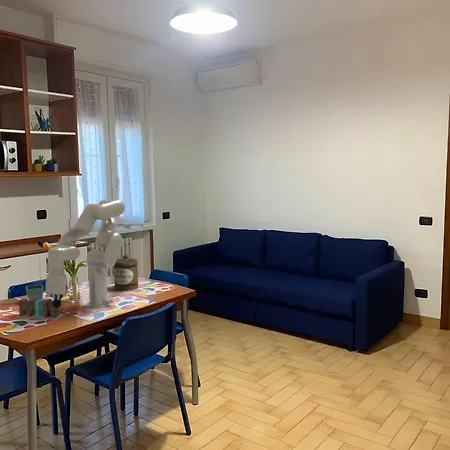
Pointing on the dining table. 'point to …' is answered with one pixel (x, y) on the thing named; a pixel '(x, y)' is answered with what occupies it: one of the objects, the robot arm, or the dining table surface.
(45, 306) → the domino
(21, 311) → the domino
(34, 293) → the flower pot
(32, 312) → the domino
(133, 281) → the wooden container
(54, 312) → the domino
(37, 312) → the teal domino
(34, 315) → the felt runner
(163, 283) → the dining table surface
